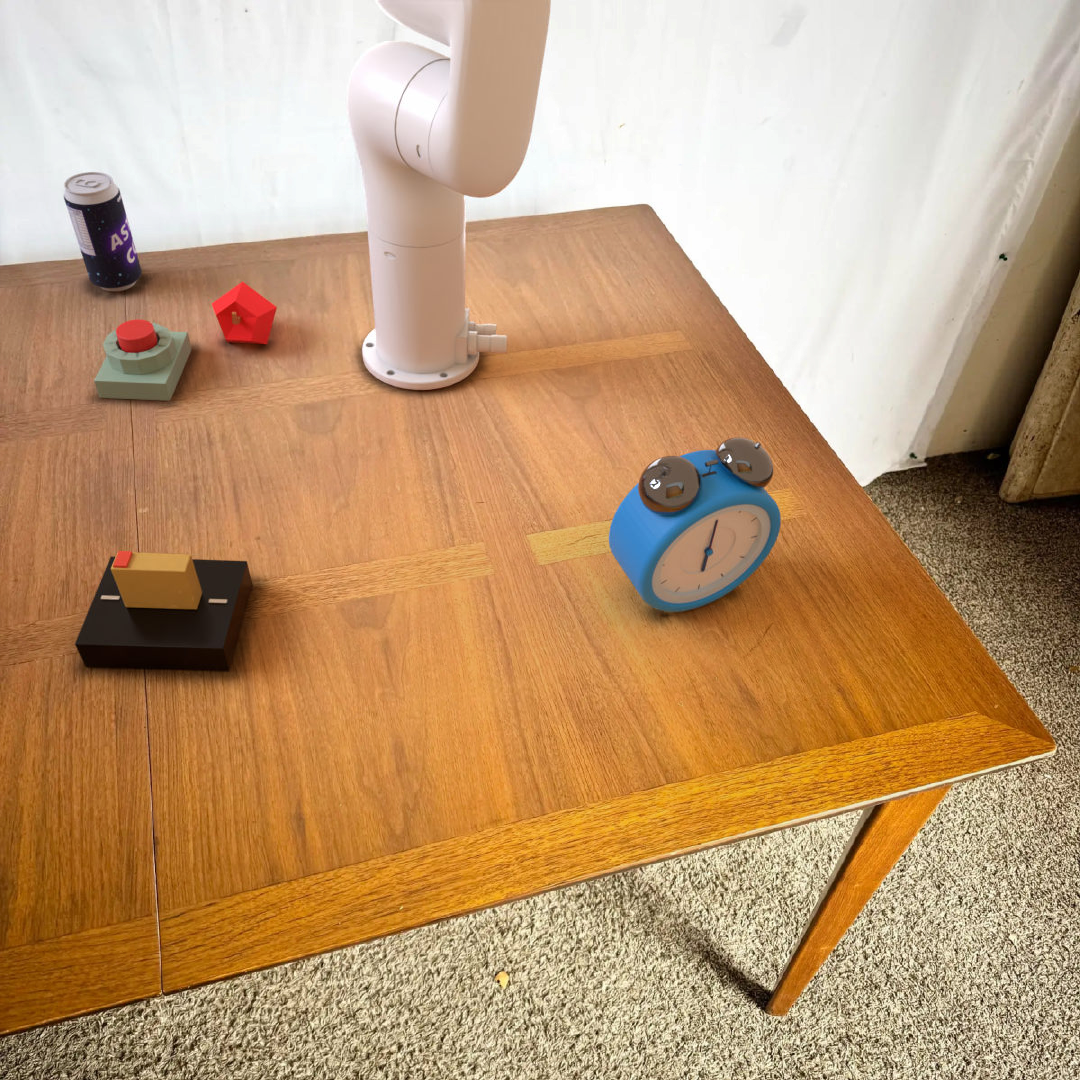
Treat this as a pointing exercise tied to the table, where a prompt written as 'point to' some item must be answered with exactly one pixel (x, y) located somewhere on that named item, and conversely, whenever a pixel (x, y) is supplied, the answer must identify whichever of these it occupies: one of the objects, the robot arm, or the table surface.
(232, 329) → the apple
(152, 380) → the block
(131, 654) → the plate
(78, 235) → the beverage can
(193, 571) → the lock knob
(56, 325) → the table surface
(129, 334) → the bell button
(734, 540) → the alarm clock
